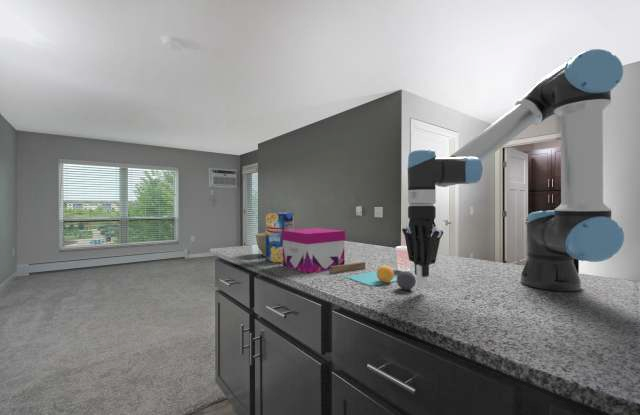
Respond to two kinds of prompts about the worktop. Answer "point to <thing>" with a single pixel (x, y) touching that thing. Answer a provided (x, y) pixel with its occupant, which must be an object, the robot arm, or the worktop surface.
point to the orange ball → (385, 274)
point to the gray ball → (406, 280)
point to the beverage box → (277, 234)
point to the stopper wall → (347, 267)
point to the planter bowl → (261, 242)
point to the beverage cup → (403, 258)
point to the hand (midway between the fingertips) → (421, 287)
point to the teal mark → (369, 279)
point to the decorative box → (313, 249)
